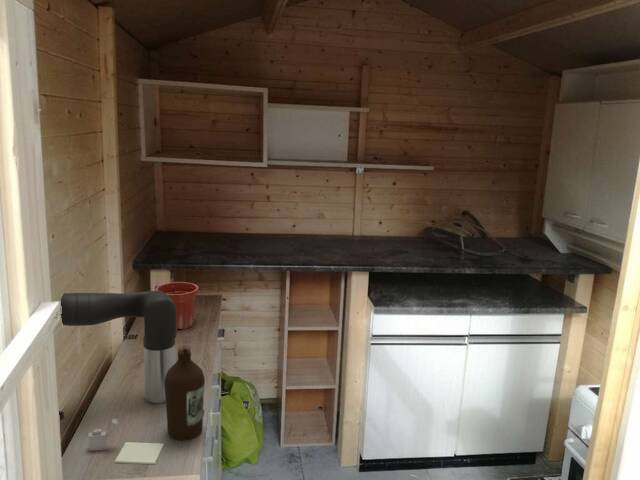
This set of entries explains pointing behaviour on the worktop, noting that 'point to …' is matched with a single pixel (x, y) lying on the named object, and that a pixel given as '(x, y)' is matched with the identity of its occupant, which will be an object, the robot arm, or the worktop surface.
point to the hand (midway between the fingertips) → (55, 424)
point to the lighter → (100, 437)
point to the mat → (139, 453)
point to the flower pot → (181, 301)
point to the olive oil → (184, 397)
